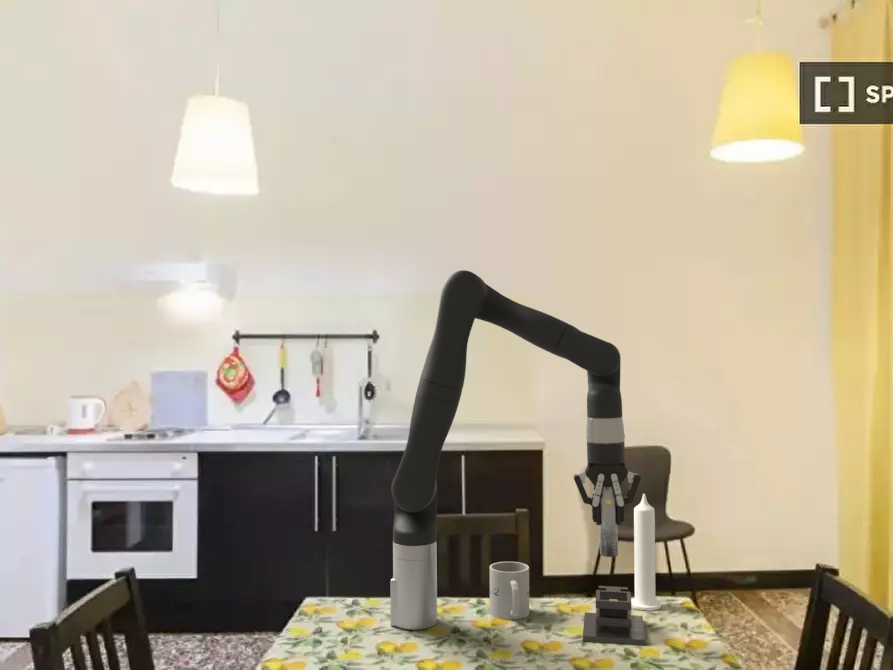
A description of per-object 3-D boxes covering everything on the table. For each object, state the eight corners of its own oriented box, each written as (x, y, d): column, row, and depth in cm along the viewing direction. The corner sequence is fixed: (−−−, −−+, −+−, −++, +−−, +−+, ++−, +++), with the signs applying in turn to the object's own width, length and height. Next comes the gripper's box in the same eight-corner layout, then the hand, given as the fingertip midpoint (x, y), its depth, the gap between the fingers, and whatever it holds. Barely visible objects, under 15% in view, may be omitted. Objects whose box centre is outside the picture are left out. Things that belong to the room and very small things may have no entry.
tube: (599, 552, 163) (597, 483, 163) (617, 552, 163) (614, 483, 163) (601, 557, 159) (598, 487, 159) (619, 557, 159) (617, 487, 159)
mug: (490, 605, 178) (490, 561, 178) (529, 606, 177) (528, 561, 177) (488, 625, 166) (488, 577, 166) (529, 626, 165) (529, 578, 165)
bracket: (582, 640, 157) (582, 604, 157) (584, 617, 170) (584, 583, 170) (645, 645, 154) (645, 608, 154) (642, 620, 168) (642, 586, 168)
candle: (662, 611, 173) (661, 497, 174) (629, 609, 175) (628, 496, 175) (660, 601, 180) (659, 491, 181) (628, 599, 182) (627, 490, 182)
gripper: (638, 436, 164) (640, 520, 164) (569, 437, 166) (571, 520, 166) (643, 441, 157) (646, 528, 157) (571, 442, 158) (574, 528, 158)
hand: (608, 523), depth 161 cm, fingers closed on tube, 3 cm apart
